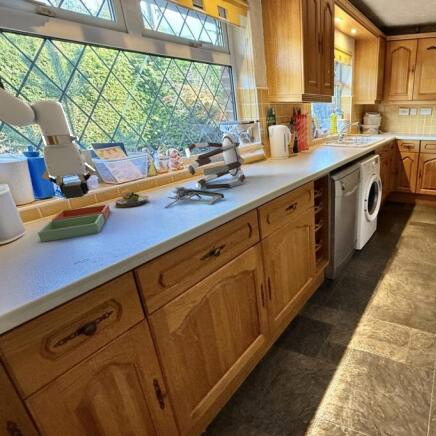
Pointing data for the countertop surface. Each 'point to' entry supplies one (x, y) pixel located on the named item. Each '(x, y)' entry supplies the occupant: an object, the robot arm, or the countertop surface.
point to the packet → (73, 190)
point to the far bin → (83, 212)
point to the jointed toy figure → (229, 157)
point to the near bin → (71, 227)
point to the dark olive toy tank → (130, 199)
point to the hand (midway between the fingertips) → (76, 194)
